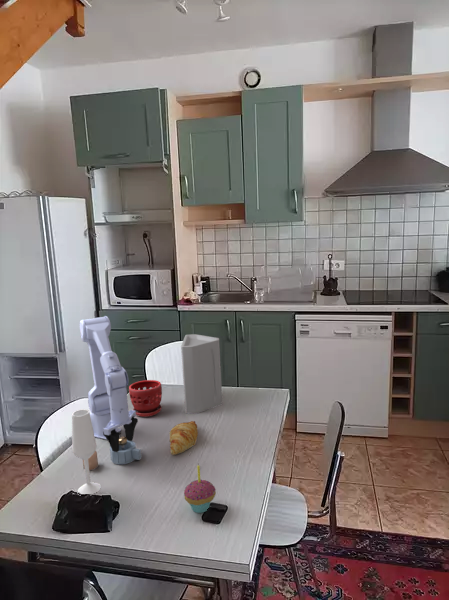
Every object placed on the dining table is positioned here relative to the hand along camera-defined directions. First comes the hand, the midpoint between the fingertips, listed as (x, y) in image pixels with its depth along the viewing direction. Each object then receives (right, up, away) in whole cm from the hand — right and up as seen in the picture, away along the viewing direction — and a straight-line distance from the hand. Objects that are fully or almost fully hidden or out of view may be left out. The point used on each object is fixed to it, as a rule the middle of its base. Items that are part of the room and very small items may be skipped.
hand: (122, 445), depth 145 cm
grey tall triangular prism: (+25, +4, +41) cm, 49 cm away
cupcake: (+27, -8, -26) cm, 39 cm away
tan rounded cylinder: (-9, -6, -3) cm, 12 cm away
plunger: (0, -4, +1) cm, 4 cm away
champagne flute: (-6, -8, -16) cm, 19 cm away
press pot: (0, -4, +1) cm, 4 cm away
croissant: (+19, -2, +10) cm, 22 cm away
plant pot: (+2, +2, +36) cm, 36 cm away
